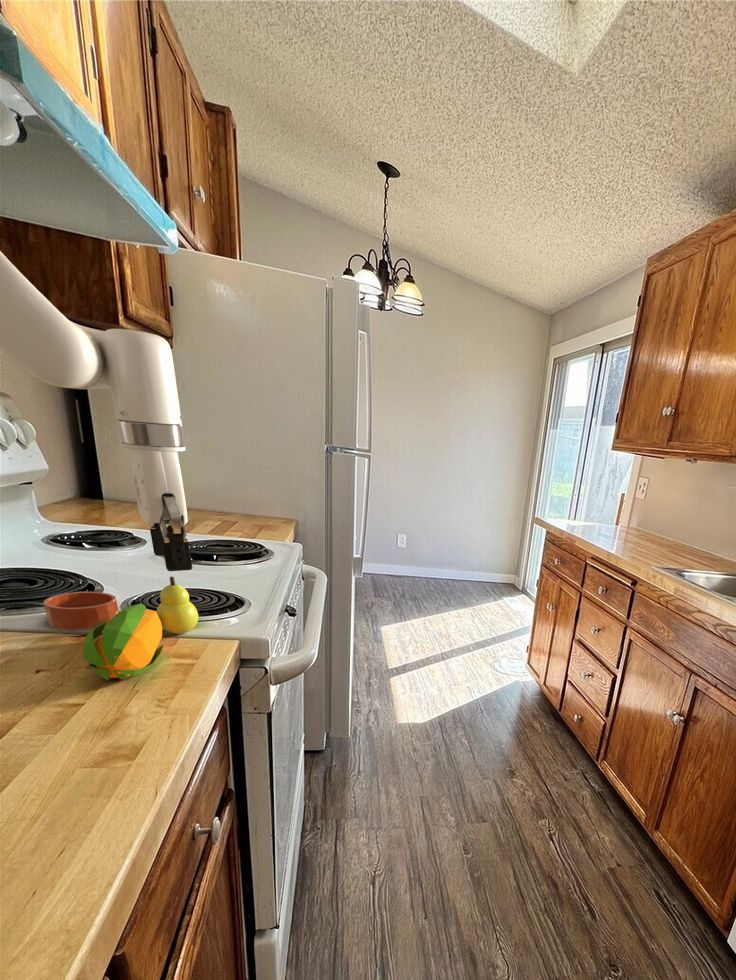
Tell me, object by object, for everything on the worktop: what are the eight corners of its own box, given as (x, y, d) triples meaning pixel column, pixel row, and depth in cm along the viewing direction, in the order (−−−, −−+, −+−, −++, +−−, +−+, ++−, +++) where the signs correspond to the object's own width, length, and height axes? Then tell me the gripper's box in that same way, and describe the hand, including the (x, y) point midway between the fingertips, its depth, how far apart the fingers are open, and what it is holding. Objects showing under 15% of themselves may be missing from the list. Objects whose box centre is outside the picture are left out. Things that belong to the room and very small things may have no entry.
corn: (64, 634, 63) (116, 585, 80) (73, 694, 66) (121, 635, 83) (141, 637, 66) (175, 590, 83) (146, 695, 69) (178, 638, 86)
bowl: (52, 641, 79) (44, 611, 77) (49, 622, 85) (42, 594, 83) (124, 633, 84) (119, 605, 82) (117, 616, 90) (112, 589, 88)
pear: (162, 641, 83) (153, 582, 79) (156, 629, 87) (146, 573, 83) (204, 636, 86) (196, 579, 83) (196, 625, 90) (188, 570, 87)
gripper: (111, 430, 79) (134, 551, 86) (128, 440, 67) (153, 579, 74) (171, 434, 83) (188, 548, 90) (197, 444, 71) (215, 574, 79)
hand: (173, 562), depth 82 cm, fingers open, 9 cm apart
